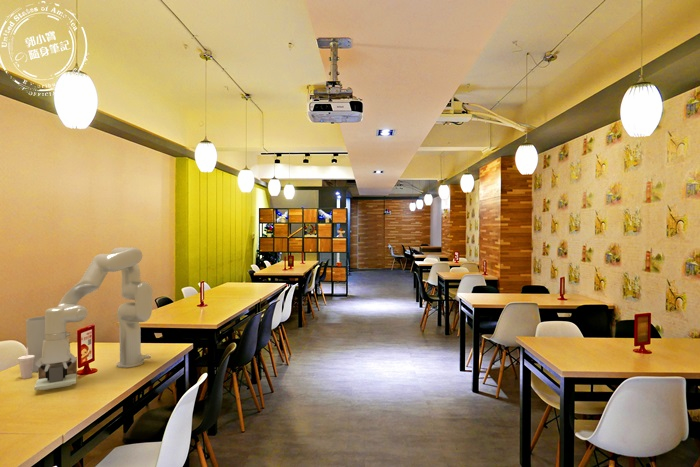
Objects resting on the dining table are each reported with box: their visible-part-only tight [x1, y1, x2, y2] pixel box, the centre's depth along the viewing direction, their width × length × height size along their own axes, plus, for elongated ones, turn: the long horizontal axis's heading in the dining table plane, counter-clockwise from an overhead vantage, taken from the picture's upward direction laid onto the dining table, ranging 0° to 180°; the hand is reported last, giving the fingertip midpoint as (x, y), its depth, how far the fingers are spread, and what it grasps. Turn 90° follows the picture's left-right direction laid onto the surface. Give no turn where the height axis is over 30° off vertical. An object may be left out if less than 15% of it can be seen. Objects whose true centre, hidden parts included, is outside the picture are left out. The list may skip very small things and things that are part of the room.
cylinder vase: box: [25, 315, 45, 373], centre depth 214 cm, size 12×12×25 cm
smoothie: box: [17, 347, 35, 380], centre depth 201 cm, size 6×6×14 cm
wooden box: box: [38, 356, 78, 379], centre depth 198 cm, size 14×11×8 cm
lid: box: [34, 364, 78, 391], centre depth 186 cm, size 14×11×8 cm
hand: (56, 378), depth 186 cm, fingers open, 5 cm apart
